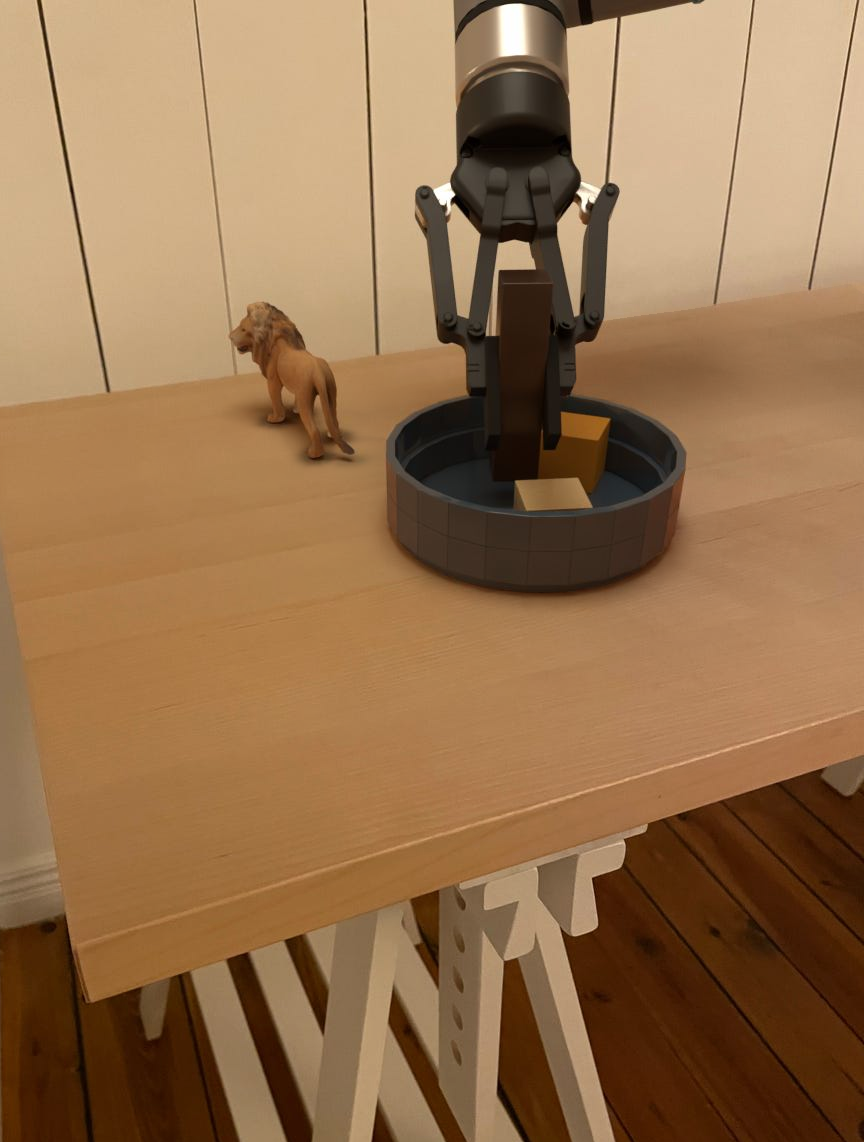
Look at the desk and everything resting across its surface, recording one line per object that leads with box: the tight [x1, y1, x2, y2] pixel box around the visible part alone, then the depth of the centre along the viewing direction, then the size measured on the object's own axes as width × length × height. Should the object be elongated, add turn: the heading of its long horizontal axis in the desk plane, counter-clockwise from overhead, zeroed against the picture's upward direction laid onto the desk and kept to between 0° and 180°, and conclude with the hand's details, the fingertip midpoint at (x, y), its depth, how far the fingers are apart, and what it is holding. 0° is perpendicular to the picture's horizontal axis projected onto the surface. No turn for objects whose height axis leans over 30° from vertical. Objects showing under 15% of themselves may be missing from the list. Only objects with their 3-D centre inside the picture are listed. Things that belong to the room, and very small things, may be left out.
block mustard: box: [538, 412, 611, 494], centre depth 71 cm, size 4×4×4 cm
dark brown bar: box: [489, 268, 553, 482], centre depth 65 cm, size 3×3×13 cm
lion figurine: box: [227, 301, 356, 459], centre depth 79 cm, size 15×5×9 cm, turn 36°
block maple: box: [513, 478, 593, 512], centre depth 63 cm, size 4×4×4 cm
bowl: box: [385, 393, 687, 593], centre depth 67 cm, size 19×19×6 cm
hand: (522, 442), depth 63 cm, fingers closed on dark brown bar, 3 cm apart
